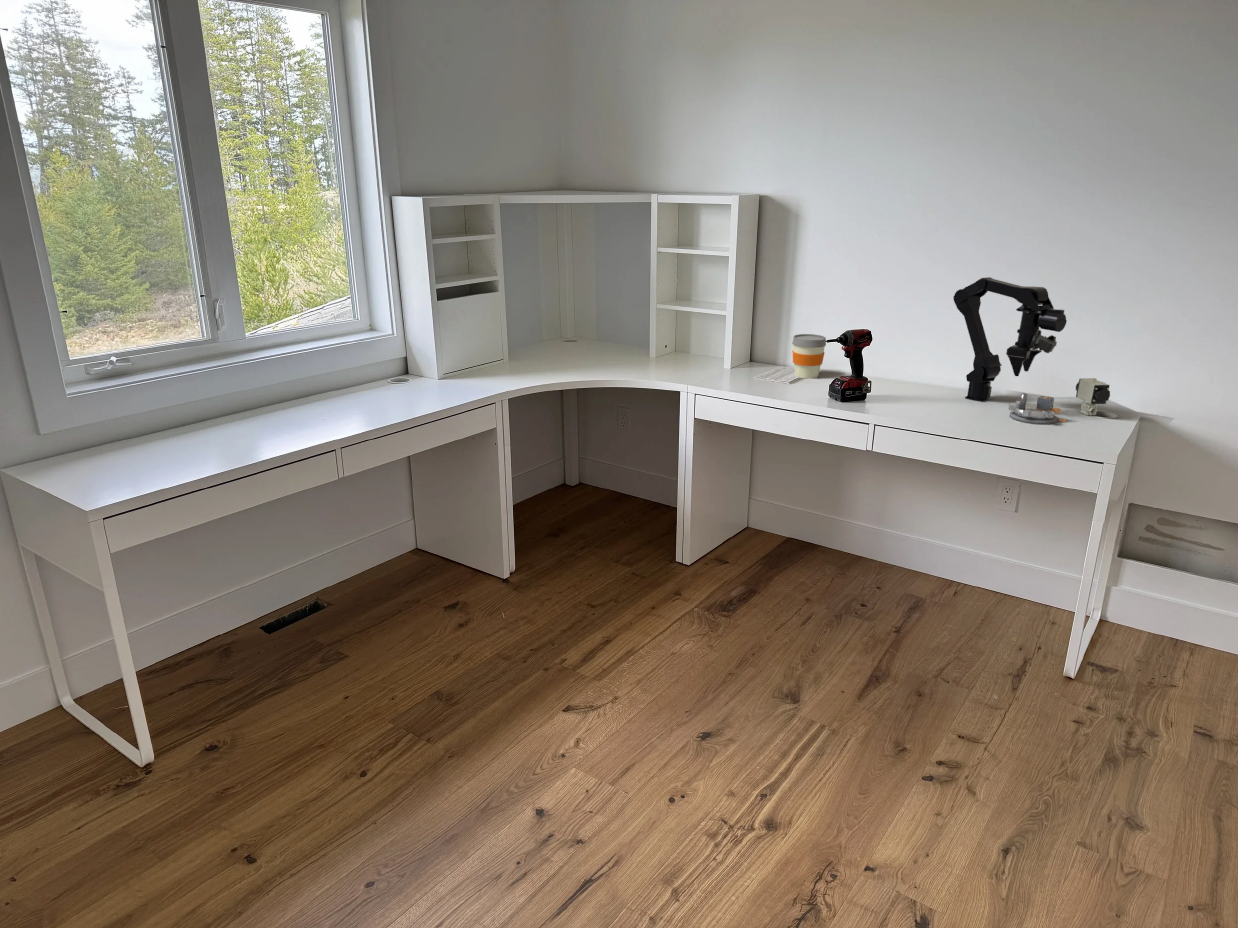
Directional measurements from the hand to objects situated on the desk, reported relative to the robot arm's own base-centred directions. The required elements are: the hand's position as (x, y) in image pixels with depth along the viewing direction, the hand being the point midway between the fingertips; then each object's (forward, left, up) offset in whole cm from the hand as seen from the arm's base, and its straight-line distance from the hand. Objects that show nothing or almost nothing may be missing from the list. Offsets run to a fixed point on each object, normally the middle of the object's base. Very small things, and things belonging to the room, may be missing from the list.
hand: (1021, 373), depth 274 cm
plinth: (+9, -8, -12) cm, 17 cm away
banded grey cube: (+11, -7, -8) cm, 15 cm away
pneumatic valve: (+20, +10, -12) cm, 25 cm away
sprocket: (+8, -8, -11) cm, 15 cm away
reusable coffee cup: (-75, -8, -12) cm, 76 cm away
